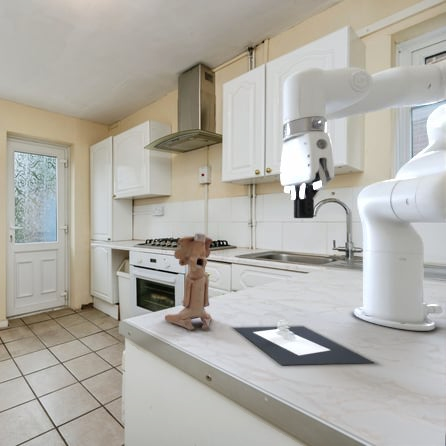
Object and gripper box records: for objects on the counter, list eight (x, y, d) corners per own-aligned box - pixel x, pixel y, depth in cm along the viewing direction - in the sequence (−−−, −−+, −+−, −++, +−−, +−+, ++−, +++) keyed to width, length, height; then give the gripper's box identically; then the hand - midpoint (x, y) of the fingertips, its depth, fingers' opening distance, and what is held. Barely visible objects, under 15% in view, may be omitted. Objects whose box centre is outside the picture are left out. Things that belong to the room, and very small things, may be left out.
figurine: (210, 318, 63) (209, 231, 63) (220, 333, 55) (220, 233, 55) (163, 317, 64) (163, 231, 64) (167, 331, 56) (167, 233, 56)
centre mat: (303, 326, 58) (303, 326, 58) (374, 363, 43) (374, 362, 43) (233, 328, 57) (233, 327, 57) (281, 365, 42) (281, 364, 42)
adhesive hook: (284, 334, 54) (284, 318, 54) (297, 339, 51) (297, 323, 51) (272, 336, 53) (272, 319, 53) (284, 341, 51) (284, 324, 51)
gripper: (353, 119, 51) (352, 217, 51) (295, 142, 66) (295, 218, 66) (314, 118, 51) (314, 217, 51) (265, 142, 66) (265, 218, 66)
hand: (303, 217), depth 59 cm, fingers closed
